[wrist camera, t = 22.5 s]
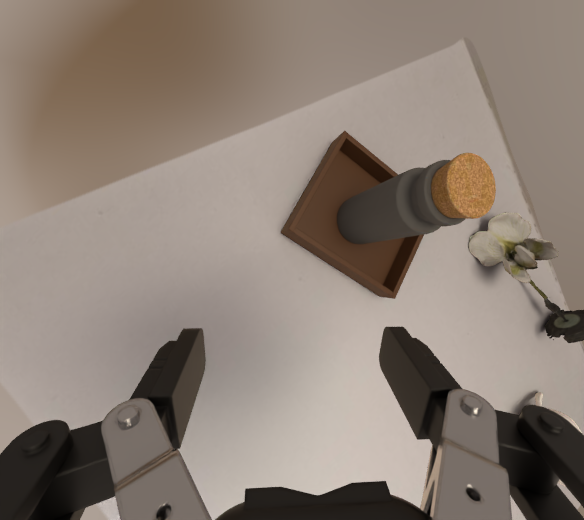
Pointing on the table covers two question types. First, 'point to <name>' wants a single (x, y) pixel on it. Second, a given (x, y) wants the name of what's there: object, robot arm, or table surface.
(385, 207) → the bottle
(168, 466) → the robot arm
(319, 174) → the tray
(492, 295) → the table surface
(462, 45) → the table surface
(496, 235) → the artificial flower
